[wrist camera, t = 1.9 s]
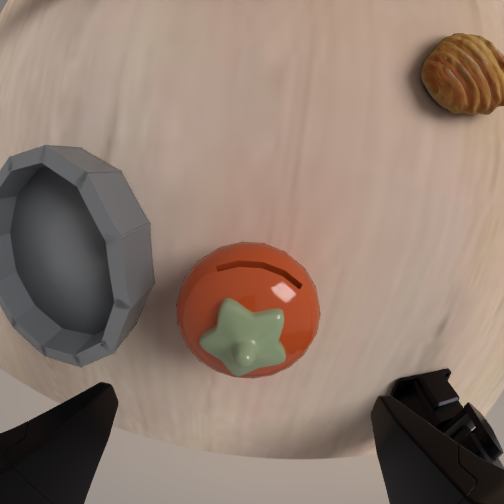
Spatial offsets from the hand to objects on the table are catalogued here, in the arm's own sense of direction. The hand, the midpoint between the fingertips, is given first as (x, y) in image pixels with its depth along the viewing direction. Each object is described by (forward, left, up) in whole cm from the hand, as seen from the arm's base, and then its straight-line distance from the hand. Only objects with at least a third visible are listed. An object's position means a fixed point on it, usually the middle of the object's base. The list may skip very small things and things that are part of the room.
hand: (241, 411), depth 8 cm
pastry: (+17, -16, -11) cm, 26 cm away
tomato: (0, 0, -11) cm, 11 cm away
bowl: (+2, +14, -10) cm, 18 cm away
